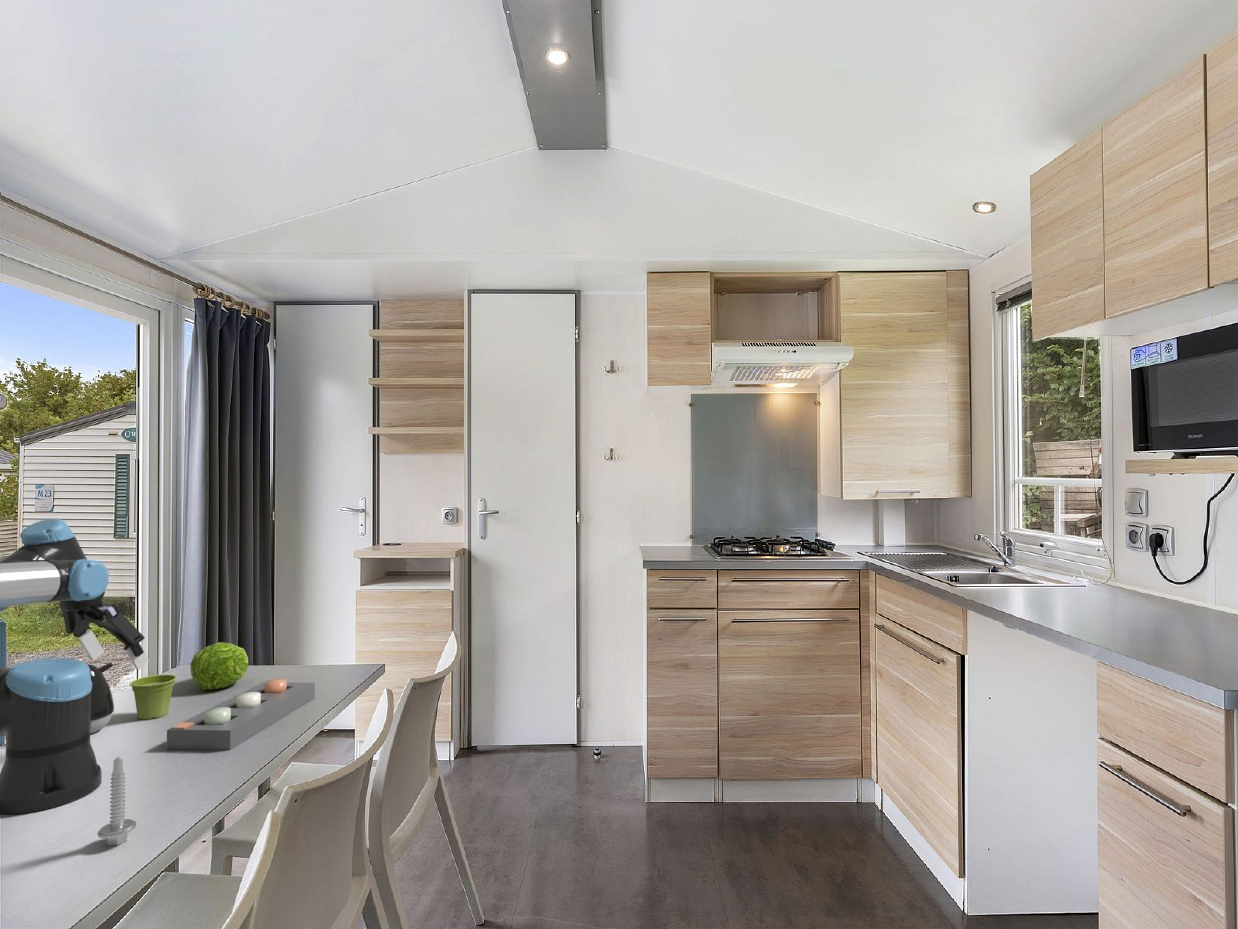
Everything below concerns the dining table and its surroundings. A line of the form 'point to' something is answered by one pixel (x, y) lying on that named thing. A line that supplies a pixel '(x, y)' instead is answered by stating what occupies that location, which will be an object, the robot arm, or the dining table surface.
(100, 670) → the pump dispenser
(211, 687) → the lettuce
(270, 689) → the peach rounded knob
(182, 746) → the button console
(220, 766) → the dining table surface
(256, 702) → the cream button
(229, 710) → the sage button
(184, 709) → the dining table surface
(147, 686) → the plant pot
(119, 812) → the screw
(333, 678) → the dining table surface
